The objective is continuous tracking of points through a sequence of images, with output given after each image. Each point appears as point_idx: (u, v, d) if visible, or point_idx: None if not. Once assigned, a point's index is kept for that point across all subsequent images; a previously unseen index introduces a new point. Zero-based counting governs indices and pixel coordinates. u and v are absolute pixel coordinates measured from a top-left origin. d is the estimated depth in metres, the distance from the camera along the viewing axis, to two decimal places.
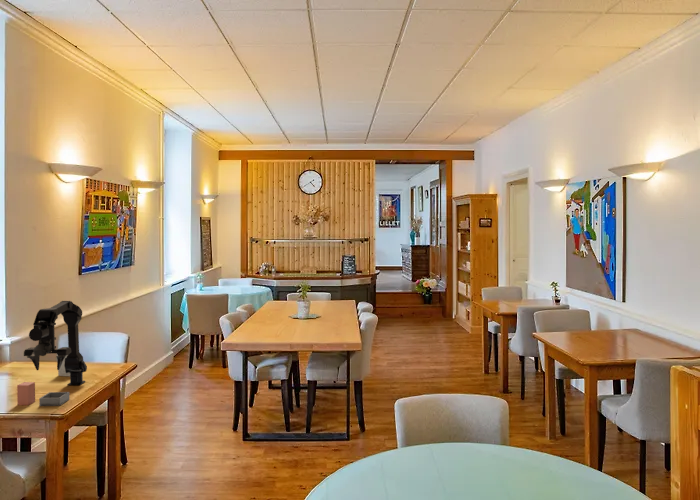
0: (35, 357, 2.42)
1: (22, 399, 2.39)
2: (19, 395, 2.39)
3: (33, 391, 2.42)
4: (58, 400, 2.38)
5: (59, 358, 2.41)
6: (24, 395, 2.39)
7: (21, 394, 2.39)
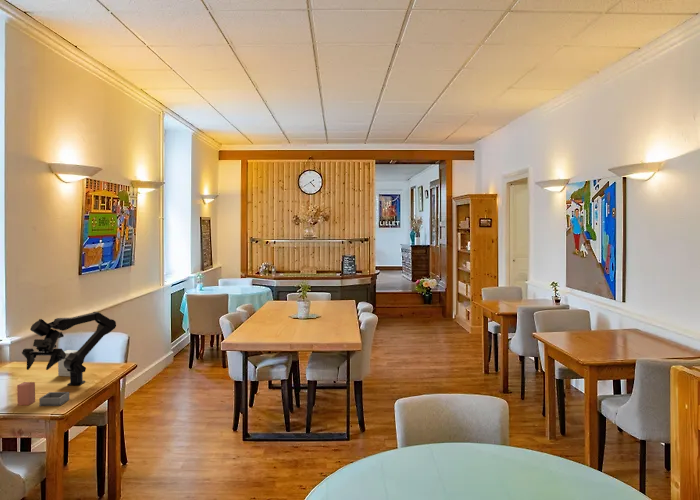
0: (31, 357, 2.52)
1: (22, 399, 2.39)
2: (19, 395, 2.39)
3: (33, 391, 2.42)
4: (58, 400, 2.38)
5: (52, 356, 2.51)
6: (24, 395, 2.39)
7: (21, 394, 2.39)
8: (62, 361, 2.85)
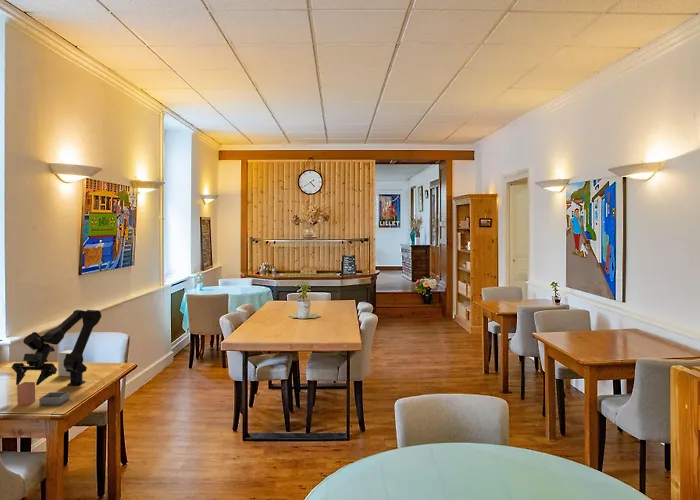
0: (20, 371, 2.45)
1: (22, 399, 2.39)
2: (19, 395, 2.39)
3: (33, 391, 2.42)
4: (58, 400, 2.38)
5: (43, 371, 2.44)
6: (24, 395, 2.39)
7: (21, 394, 2.39)
8: (62, 361, 2.85)
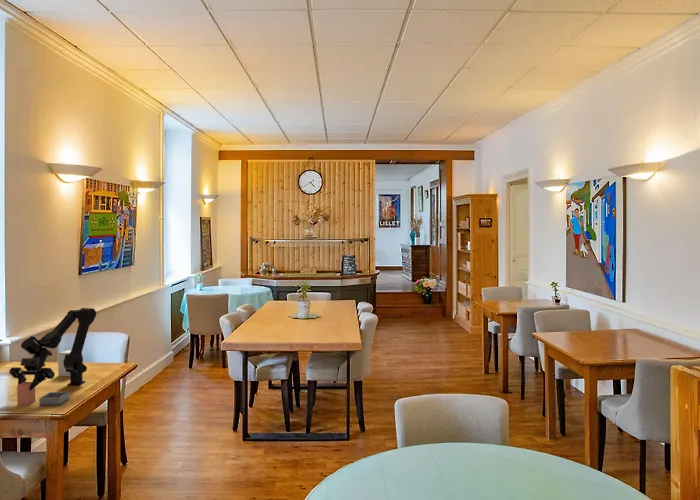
0: (22, 376, 2.43)
1: (22, 399, 2.39)
2: (19, 395, 2.39)
3: (33, 391, 2.42)
4: (58, 400, 2.38)
5: (36, 376, 2.42)
6: (24, 395, 2.39)
7: (21, 394, 2.39)
8: (62, 361, 2.85)
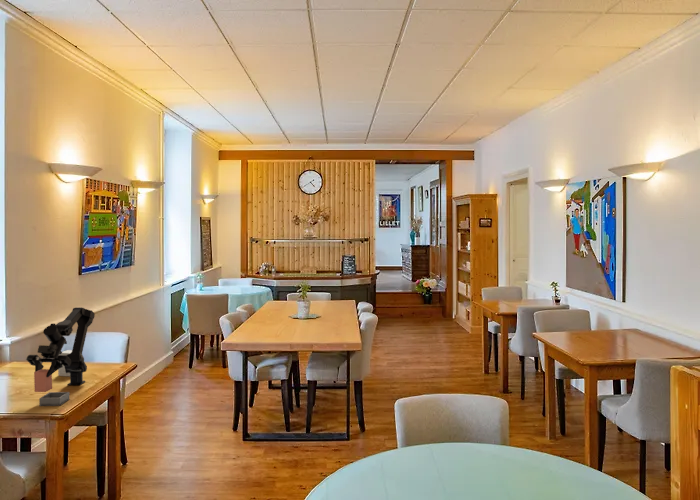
0: (39, 363, 2.44)
1: (39, 386, 2.39)
2: (36, 382, 2.39)
3: (50, 378, 2.43)
4: (58, 400, 2.38)
5: (53, 363, 2.42)
6: (41, 382, 2.39)
7: (38, 381, 2.39)
8: None
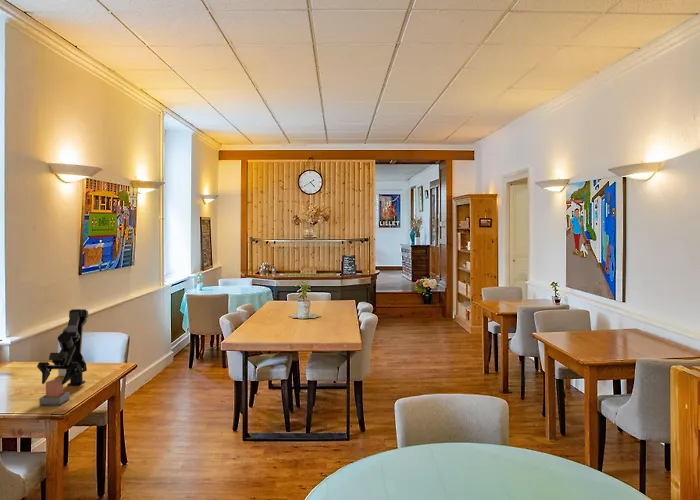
0: (46, 370, 2.44)
1: (51, 397, 2.40)
2: (48, 392, 2.40)
3: (61, 388, 2.43)
4: (58, 400, 2.38)
5: (69, 370, 2.43)
6: (52, 392, 2.39)
7: (49, 392, 2.40)
8: None
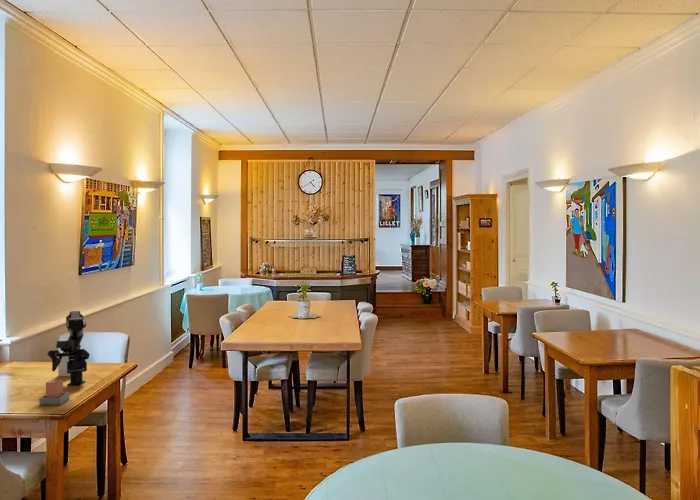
0: (56, 358, 2.53)
1: (51, 397, 2.40)
2: (48, 392, 2.40)
3: (61, 388, 2.43)
4: (58, 400, 2.38)
5: (76, 357, 2.50)
6: (52, 392, 2.39)
7: (49, 392, 2.40)
8: (62, 361, 2.85)
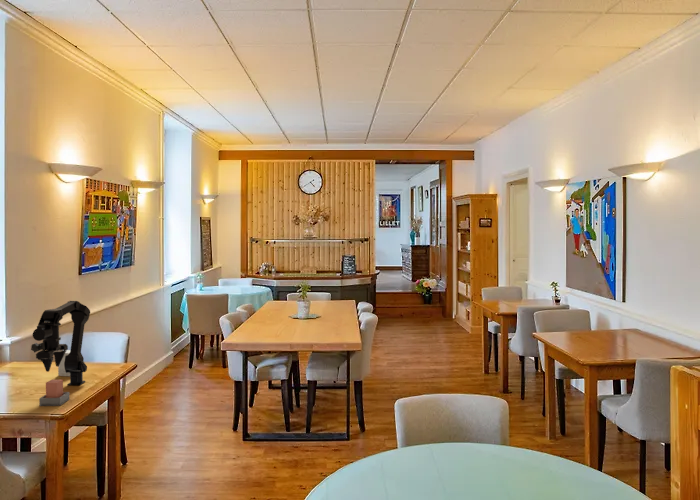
0: (55, 353, 2.56)
1: (51, 397, 2.40)
2: (48, 392, 2.40)
3: (61, 388, 2.43)
4: (58, 400, 2.38)
5: None
6: (52, 392, 2.39)
7: (49, 392, 2.40)
8: (62, 361, 2.85)
